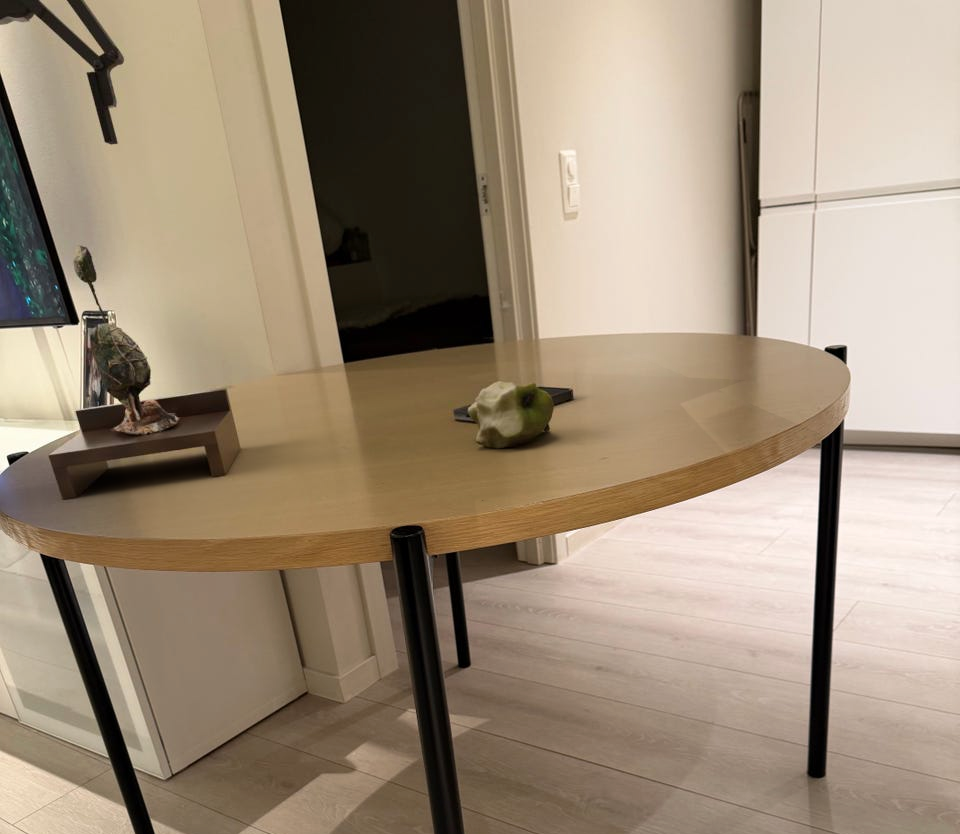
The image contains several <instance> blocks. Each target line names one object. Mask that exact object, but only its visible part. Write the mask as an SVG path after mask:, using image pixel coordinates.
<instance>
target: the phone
mask: <svg viewBox="0 0 960 834" xmlns="http://www.w3.org/2000/svg"><path fill="white" fill-rule="evenodd" d="M536 387H537V388H538V389H540V390H544V391H546V392H547V393H548V394H549V395H550V396H551V398H552V401H553V404H554V406H555V405H558V404H561V403H564V402H567V401H566V400H568V401H570V400H569V399H571V400H573V399H574V398H575V397H574V388H569V387H554V386H536ZM572 398H573V399H572ZM472 404H473V403H471V404H467V405H464V406H461V407H457V408H454V409H453V410H452V412H453V418H454V420H455V421H462V422H470V423H476V422H475V421H474V420H471V418H470V415H469V413H468V408H469V407H470V406H471V405H472Z"/></svg>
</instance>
